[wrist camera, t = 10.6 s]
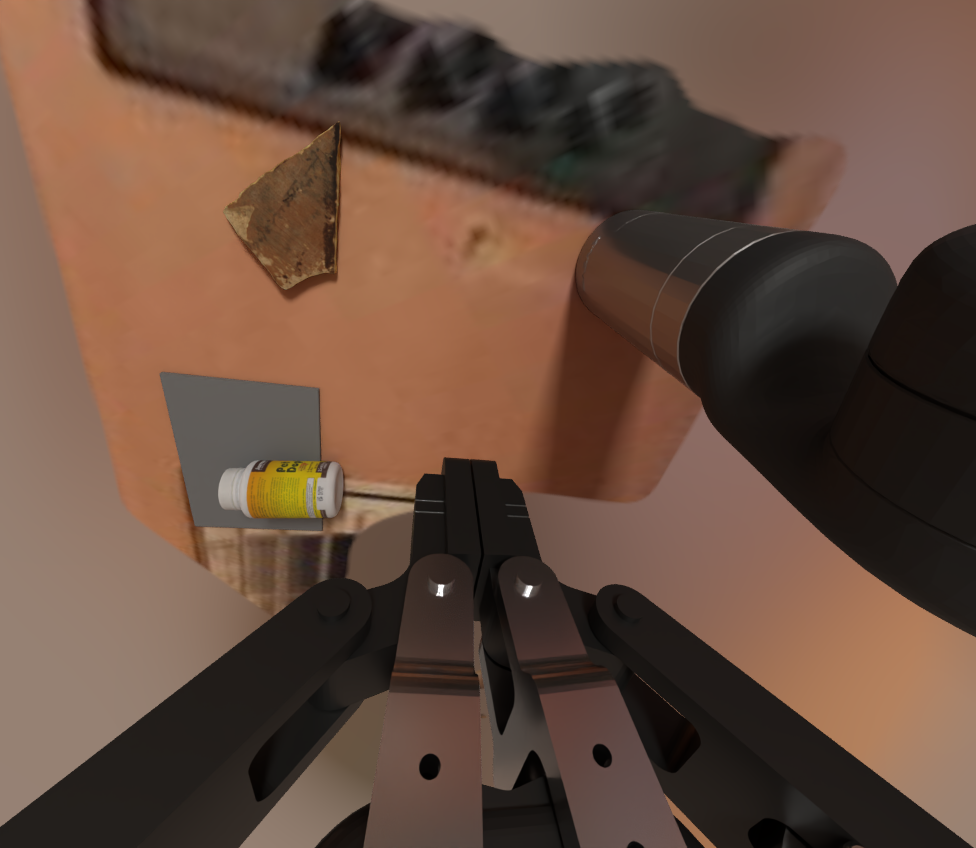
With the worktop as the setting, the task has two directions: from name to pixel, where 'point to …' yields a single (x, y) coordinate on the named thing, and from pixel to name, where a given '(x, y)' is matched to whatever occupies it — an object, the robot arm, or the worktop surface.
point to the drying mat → (239, 438)
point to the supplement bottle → (283, 489)
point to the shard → (294, 212)
